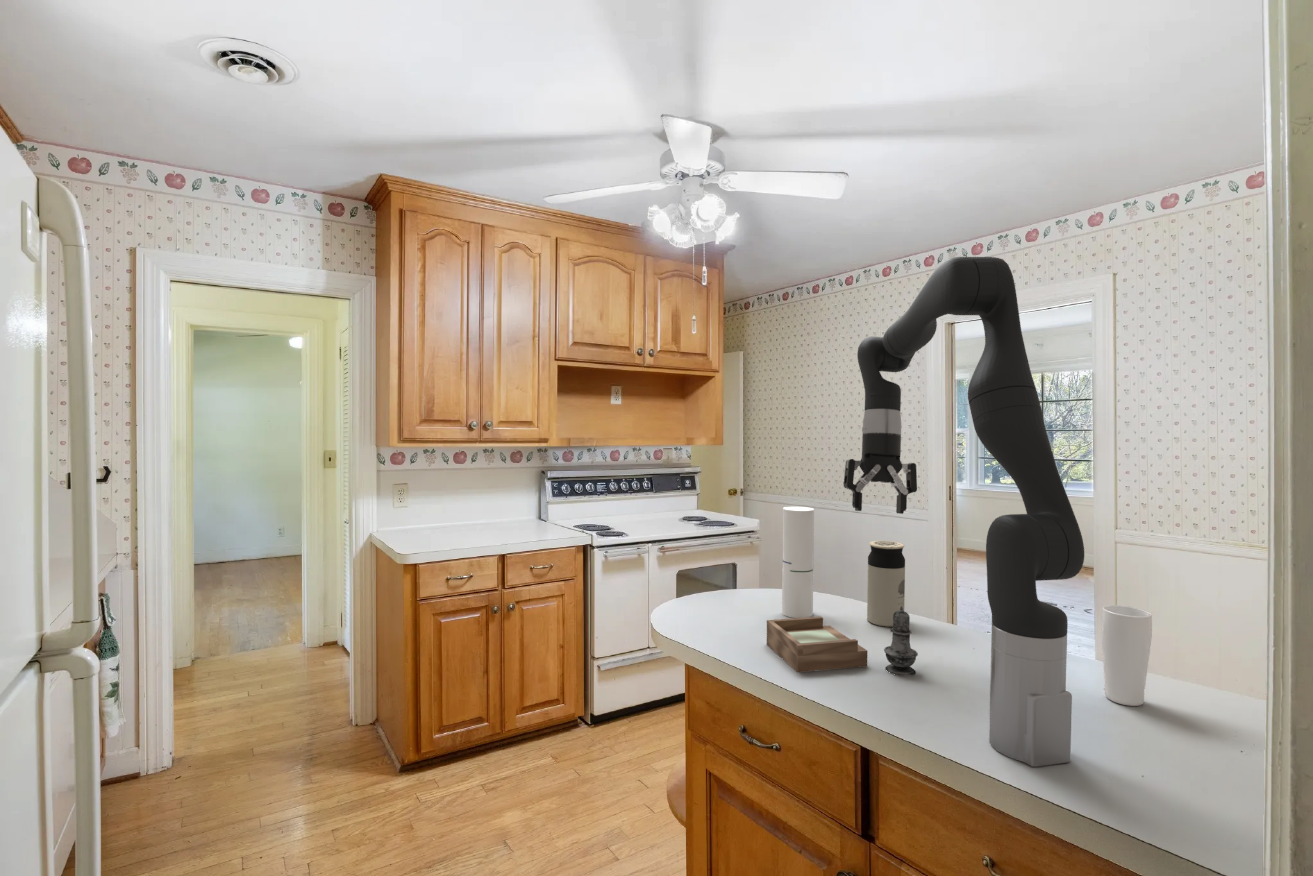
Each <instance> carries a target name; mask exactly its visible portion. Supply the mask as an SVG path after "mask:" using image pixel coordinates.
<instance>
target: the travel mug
mask: <svg viewBox="0 0 1313 876" xmlns="http://www.w3.org/2000/svg"><path fill="white" fill-rule="evenodd" d="M868 545H869V547H870V552H869V555H868V556H867V591H866V592H867V596H866V597H867V599H866V601H867V602H866V604H867V605H866V612H867V613H866V620H867V621H868V622H869V623H871V624H873V625H875V626H879V627H884V626H885V627H886V628H887V627H888V628H893V614H894V613H895V612H896V611H899V610H900V607H901V606H902V607H903V611H904V612H905V601H906V600H905V597H906V596H905V595H906V594H905V589H906V587H905V586H906V557H904V554H903V549H904V547H905V544H903V543H901V542H899V541H898V542H897V541H892V540H872V541H870V542H869V543H868Z"/></svg>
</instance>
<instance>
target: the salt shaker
mask: <svg viewBox="0 0 1313 876" xmlns="http://www.w3.org/2000/svg"><path fill="white" fill-rule="evenodd" d="M910 618H911V617H910V615H909V613H908V612H907V611H905V610H904V611H903V607H902V606H901V607H900V610H899V611H896V612H895V613H894V614H893V627H891V629H890V632H891V633H892V634H891V636H892V637H891V640H892V641H891V644H890V645H889V646H886V647H884V648H883V651H884V653H885V657H886V659H887V661H888V662H889V664H888V665H886V666H885V667H884V668H885V669H884V670H885V671H886V670H887V671H888V672H887V671H886V672H887V673H889V672H890V673H889V674H891V675H894V674H895V675H894V676H899V677H912V676H914V675H916V673H917V671H916V669H915V668H913V667H912V666H913V665H914V663H915V662H916V659H917V657H918V656H919V655H918V651H917V650H916V649H913V648H912V647H911V643H910V640H911V639H910V637H911V634H912V631H911V630H910V625H911V624H910V620H911V619H910Z"/></svg>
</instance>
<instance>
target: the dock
mask: <svg viewBox="0 0 1313 876" xmlns="http://www.w3.org/2000/svg"><path fill="white" fill-rule="evenodd" d="M858 642H859V641H858V640H857V639H856V638H853V639H851V638H850V637H848V636H846V635H844V634H843V633H842V632H840V631H839V630H838V629H836V628H834V627H833V626H832V625H829V624H828V625H824V617H822V616H811V617H806V618H792V617H790V618H780V619H779V618H778V619H767V620H766V645H767V646H768V647H769V648H770V649H771V650H772V649H773V650H772V651H773V652H774V653H776V654H777V656H779V657H780V658H781V659H782V658H783V659H782V660H783V661H784V660H785V661H784V662H786V663H787V664H788V665H789V667H791V668H792V669H793V670H794V671H795V670H796V671H795V672H796V673H798V672H799V673H807V672H808V671H810V672H816V671H815V670H821V671H829V670H828V669H833V670H841V669H842V670H843V669H853V668H854V667H855V668H866V667H868V650H867V649H866V648H864V647H863V646H861V645H860V644H859V643H858ZM808 673H809V672H808Z"/></svg>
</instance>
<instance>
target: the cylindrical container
mask: <svg viewBox="0 0 1313 876" xmlns="http://www.w3.org/2000/svg"><path fill="white" fill-rule="evenodd" d="M814 527H815V509H814V508H812V507H809V506H784V507H782V571H781V573H782V574H781V575H782V577H781V578H782V580H781V581H782V585H781V586H782V588H781V590H782V591H781V595H782V596H781V613H782V615H783V616H785V617H788V618H806V617H813V615H814V551H815V549H814V545H815V543H814V541H815V540H814V539H815V538H814V537H815V536H814V533H815V532H814V531H815V528H814Z"/></svg>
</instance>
